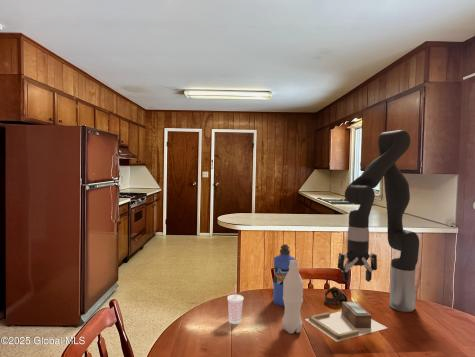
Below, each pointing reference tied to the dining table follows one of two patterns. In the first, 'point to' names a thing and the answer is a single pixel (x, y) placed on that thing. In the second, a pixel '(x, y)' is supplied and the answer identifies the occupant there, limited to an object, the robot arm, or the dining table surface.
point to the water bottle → (292, 299)
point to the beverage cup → (235, 307)
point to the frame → (356, 315)
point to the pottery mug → (335, 296)
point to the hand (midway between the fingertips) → (356, 281)
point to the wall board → (340, 326)
